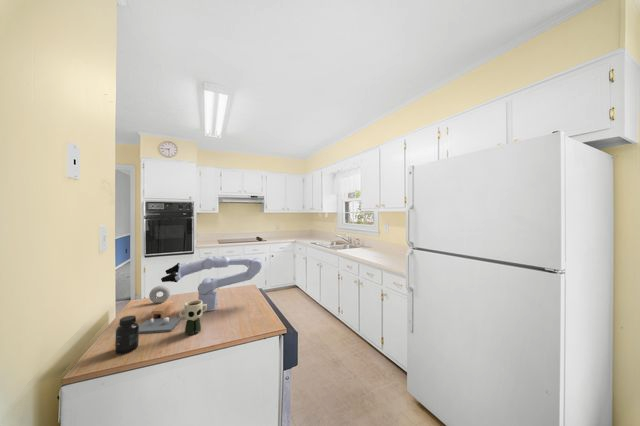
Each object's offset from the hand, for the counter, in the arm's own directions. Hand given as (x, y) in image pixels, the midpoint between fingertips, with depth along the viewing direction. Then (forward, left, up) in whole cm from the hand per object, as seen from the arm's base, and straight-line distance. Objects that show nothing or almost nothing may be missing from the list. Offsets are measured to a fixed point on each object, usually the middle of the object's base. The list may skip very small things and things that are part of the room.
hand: (164, 276), depth 122 cm
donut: (+7, -13, -19) cm, 24 cm away
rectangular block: (-2, +4, -19) cm, 19 cm away
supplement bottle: (-3, +35, -19) cm, 40 cm away
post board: (-6, +17, -19) cm, 26 cm away
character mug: (-23, +25, -19) cm, 39 cm away
